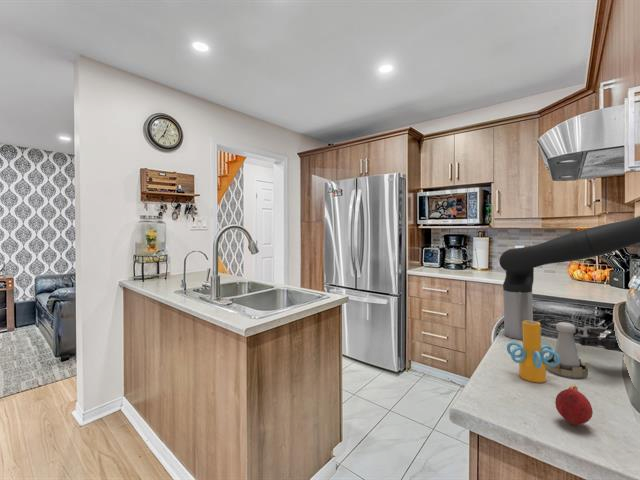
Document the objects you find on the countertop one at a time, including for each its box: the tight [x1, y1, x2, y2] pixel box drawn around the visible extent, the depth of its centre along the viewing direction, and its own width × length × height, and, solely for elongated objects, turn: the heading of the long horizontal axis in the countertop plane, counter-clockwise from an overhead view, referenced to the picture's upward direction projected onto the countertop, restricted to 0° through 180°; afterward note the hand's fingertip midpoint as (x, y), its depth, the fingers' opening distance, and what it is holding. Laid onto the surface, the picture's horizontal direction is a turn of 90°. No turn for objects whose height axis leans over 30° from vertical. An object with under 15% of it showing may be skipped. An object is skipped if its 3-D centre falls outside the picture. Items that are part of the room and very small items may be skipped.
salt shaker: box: [554, 321, 580, 370], centre depth 86 cm, size 6×6×13 cm
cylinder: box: [506, 320, 560, 384], centre depth 83 cm, size 12×10×15 cm
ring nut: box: [544, 355, 589, 380], centre depth 86 cm, size 9×9×3 cm
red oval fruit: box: [554, 384, 593, 427], centre depth 62 cm, size 6×6×8 cm
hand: (569, 335), depth 86 cm, fingers open, 8 cm apart
